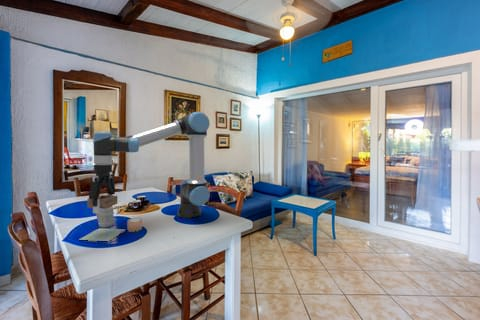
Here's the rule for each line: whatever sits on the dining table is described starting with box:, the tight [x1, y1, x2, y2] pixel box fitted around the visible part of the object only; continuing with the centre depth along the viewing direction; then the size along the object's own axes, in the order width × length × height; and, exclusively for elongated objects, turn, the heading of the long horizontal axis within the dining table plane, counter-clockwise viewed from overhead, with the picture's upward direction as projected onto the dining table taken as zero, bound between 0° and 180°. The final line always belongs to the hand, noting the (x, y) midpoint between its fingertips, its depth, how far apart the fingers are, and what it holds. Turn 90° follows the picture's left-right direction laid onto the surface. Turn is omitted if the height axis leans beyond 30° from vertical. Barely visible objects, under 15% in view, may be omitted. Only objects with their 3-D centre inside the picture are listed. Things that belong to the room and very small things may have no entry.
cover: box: [86, 194, 119, 209], centre depth 108 cm, size 9×9×5 cm
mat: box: [78, 227, 126, 243], centre depth 109 cm, size 14×14×1 cm
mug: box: [95, 206, 115, 228], centre depth 123 cm, size 8×12×12 cm, turn 66°
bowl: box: [126, 217, 143, 233], centre depth 117 cm, size 7×7×5 cm
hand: (103, 209), depth 108 cm, fingers closed on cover, 9 cm apart
